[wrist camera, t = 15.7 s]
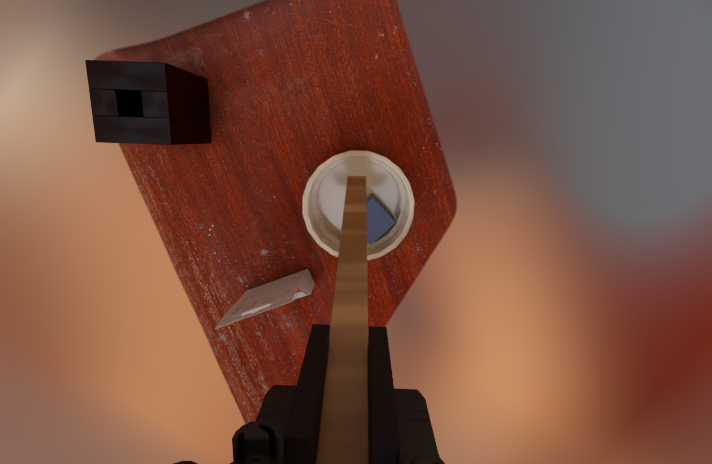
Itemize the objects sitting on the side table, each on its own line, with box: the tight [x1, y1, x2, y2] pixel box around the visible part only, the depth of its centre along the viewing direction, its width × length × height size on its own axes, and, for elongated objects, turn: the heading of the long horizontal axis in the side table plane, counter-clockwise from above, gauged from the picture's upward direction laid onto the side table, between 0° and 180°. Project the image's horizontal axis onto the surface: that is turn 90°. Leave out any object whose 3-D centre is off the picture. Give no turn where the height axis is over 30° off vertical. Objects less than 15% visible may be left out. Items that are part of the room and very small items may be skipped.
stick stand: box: [86, 60, 211, 145], centre depth 41 cm, size 7×7×10 cm
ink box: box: [215, 269, 315, 329], centre depth 45 cm, size 3×9×12 cm, turn 111°
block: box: [367, 193, 396, 245], centre depth 46 cm, size 4×4×4 cm
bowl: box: [302, 149, 415, 260], centre depth 45 cm, size 12×12×6 cm
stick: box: [316, 176, 369, 464], centre depth 23 cm, size 2×2×30 cm
